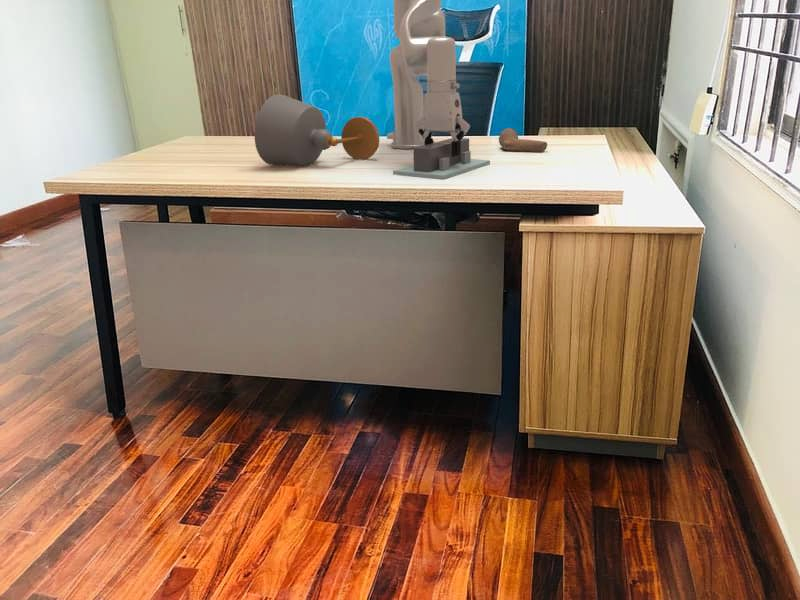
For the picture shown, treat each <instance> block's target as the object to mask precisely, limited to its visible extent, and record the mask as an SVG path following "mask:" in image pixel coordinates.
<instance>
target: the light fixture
mask: <svg viewBox="0 0 800 600" xmlns="http://www.w3.org/2000/svg"><path fill="white" fill-rule="evenodd" d="M340 136H341V138H337V137H334V136H333V134H332V133H331V132H330V131H329V130H327V125H326V121H325V116H324V115H323V113H322V111H321V110H320V109H319V108H318V107H316V106H314V105H311V104H309V103H307V102H303V101H301V100H298V99H295V98H292V97H290V96H287V95H286V94H280V93H278V94H274V95H272V96H269V98H267V99H266V100H265V101H264V103H263V104H262V106H261V108H260V109H259V111H258V114H257V116H256V120H255V124H254V144H255V149H256V152H257V153H258V156H259V157H260V159H261V160H262V161H263V162H265V164H268V165H271V164H273V165H272V166H286V165H288V166H289V167H302V166H303V167H304V166H305V167H309V166H308V165H310V166H312V165H313V164H315V163H316V162H317V160H318V159H319V158H320V156H321V154H322V152H323V151H326V150H328V149H330V147H336V146H337V145H339V144H342V147H343V150H344V152H346V154H347V155H348V156H349V157H350V158H352V159H355V160H358V159H363V160H367V159H369V158H372V156H374V155H375V153H376V152H377V150H378V148H379V145H380V134H379V130H378V127H377V126H376V125H375V123H374V122H373V121H372V120H370V118H367V117H365V116H355V117H352V118H350V119H349V120H348V121H347V122H346V123H345V124H344V126H343V128H342V131H341V135H340ZM311 164H312V165H311ZM288 166H287V167H288Z"/></svg>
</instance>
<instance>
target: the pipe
mask: <svg viewBox="0 0 800 600" xmlns="http://www.w3.org/2000/svg"><path fill="white" fill-rule="evenodd" d="M498 144H499V145H500V147H501V148H502V149H503V150H504V151H508V152H523V153H544V152H545V151H546V150H547V148H548V142H547V141H543V140H536V139H535V140H534V139H526V138H524V139H523V138H519V135H518V133H517V131H516V129H514V128H511V127H507V128H504V129H503V130H502V131H501V132H500V133H499V137H498ZM543 151H544V152H543Z"/></svg>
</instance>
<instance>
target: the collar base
mask: <svg viewBox="0 0 800 600" xmlns="http://www.w3.org/2000/svg"><path fill="white" fill-rule="evenodd" d="M471 156H472V155H471V151H470V150H469V151H466V152H463V153H461V163H459V164H455V165H452V166H449V158H442V159H439V170H436V171H433V172H421V171H414V164H412V165H409V166H405V167H401V168H397V169H394V170H392V175H395V174H397V175H398V176H407V177H414V178H415V177H417V178H427V179H437V180H446V179H448V178H453V177H455V176H459V175H461V174H464V173H467V172H470V171H473V170H476V169H480V168H482V167H486V166H488V165H490V164H491V160H489V159H474V158H471ZM397 175H396V176H397Z"/></svg>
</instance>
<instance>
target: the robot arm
mask: <svg viewBox="0 0 800 600" xmlns="http://www.w3.org/2000/svg"><path fill="white" fill-rule="evenodd" d="M441 7H442V0H393V30H394V35H395V37H396V38H397V39H398V40H399V43H400V44H399V45H397V46H394V47H393V48H392V49H391V51H390V53H389V65H390V71H391V77H392V84H393V87H392V88H393V104H394V105H393V106H394V107H393V109H394V113H393V114H394V131H393V132H389V133H388V134H387V135H386V139H387V140H392V142H391V143H390V147H391V148H393V149H400V150H402V149H403V150H410V149H411V150H412V149H413V148H415V147H419V146H423V145H427V144H431V143H434V138H432V137H433V135H434V133H435V132H436V133H440V132H441V133H449V134H450V137H451V138H453V140H454V141H452V156H453V157H455V156H459V155H460V151H461V140H462V139H463V138H464V137H465V136H466V135H467V132H468V131H469V130H470V128H471V125H470V124H469V123H468V122H467V121H466V120H465V119H463V111H462V110H463V109H462V102H461V96H460V93H459V92H457V89H459V88H460V83H459V82H457V80H456V79H457V77H456V76H457V75H456V74H457V73H456V72H457V67H456V66H457V65H456V64H457V63H456V62H457V61H456V56H457V55H456V54H457V53H456V41H455V39H454V38H452V37H448V36H446V17H445V14H444V12H443V10H442V9H441ZM422 76H423V77H424V76H426V91H427V92H426V93H425V95H424V91H423V90H424V89H423V87H422V85H421V84H420V83H419V82H418V81H417V80H416V78H417V77H422Z"/></svg>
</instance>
